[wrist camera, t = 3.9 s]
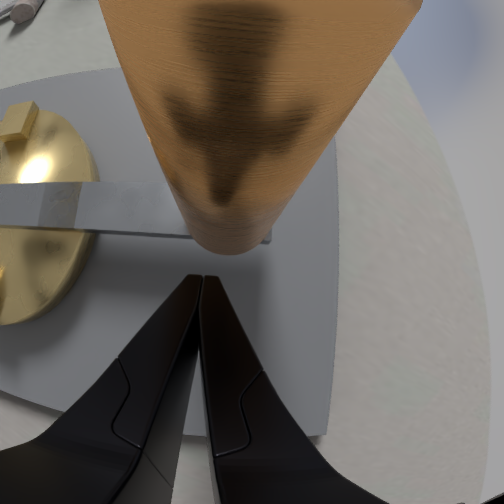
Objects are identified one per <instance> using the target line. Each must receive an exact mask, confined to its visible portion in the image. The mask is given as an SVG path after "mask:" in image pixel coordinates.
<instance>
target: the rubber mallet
mask: <svg viewBox="0 0 504 504" xmlns="http://www.w3.org/2000/svg"><path fill="white" fill-rule="evenodd" d="M43 1H44V0H15V1H13V2H11V3H9V4H7V5H5V6H3V7H2V8H0V17H1V16H2V15H4V14H6V13H8V12H10V11H11V12H10V18H11V20H12V21H13V22H14V23H16V24H20V23H22V22H24V21H26V20H29V19H31V18H33V17H34V15H35V14H36V12H37V10H38V9H39V7H40V6H41V4H42V2H43Z"/></svg>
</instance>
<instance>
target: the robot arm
mask: <svg viewBox="0 0 504 504" xmlns="http://www.w3.org/2000/svg"><path fill="white" fill-rule="evenodd" d="M198 352H199V359H200V373H201V386H202V398H203V409H204V419H205V429H206V438H207V447H208V456H209V464H210V472H211V479H212V487H213V494H214V501H215V504H389V503H387V502H385V501H383V500H382V499H380V498H378V497H376V496H375V495H373V494H371V493H369V492H368V491H366V490H364V489H363V488H361V487H359V486H358V485H356V484H354V483H353V482H351V481H350V480H348V479H346V478H345V477H343V476H342V475H341V474H339V473H338V472H337V471H336V470H335V469H334V468H333V467H332V466H331V465H330V464H329V463H328V462H327V461H326V460H325V458H324V457H323V456H322V455H321V454H320V452H319V451H318V450H317V448H316V447H315V446H314V445H313V443H312V442H311V441H310V439H309V438H308V437H307V435H306V434H305V433H304V431H303V430H302V429H301V427H300V426H299V425H298V423H297V422H296V421H295V419H294V418H293V416H292V415H291V414H290V412H289V411H288V409H287V408H286V406H285V405H284V403H283V402H282V400H281V399H280V397H279V395H278V393H277V392H276V390H275V388H274V386H273V385H272V383H271V381H270V379H269V377H268V375H267V373H266V371H264V368H263V366H262V364H261V362H260V360H259V358H258V356H257V354H256V352H255V350H254V348H253V346H252V344H251V342H250V340H249V338H248V336H247V334H246V332H245V330H244V328H243V326H242V324H241V322H240V319H239V317H238V315H237V313H236V311H235V309H234V307H233V305H232V303H231V301H230V299H229V297H228V295H227V293H226V290H225V288H224V286H223V284H222V282H221V280H220V278H219V277H218V276H215V275H204V276H202V275H200V274H187V275H186V276H185V277H184V278H183V280H182V281H181V282H180V283H179V284H178V285H177V286H176V288H175V289H174V290H173V291H172V292H171V293H170V294H169V296H168V297H167V298H166V299H165V300H164V301H163V303H162V304H161V305H160V306H159V307H158V308H157V310H156V311H155V312H154V313H153V314H152V315H151V317H150V318H149V319H148V320H147V321H146V322H145V324H144V325H143V326H142V327H141V328H140V330H139V331H138V332H137V333H136V334H135V335H134V337H133V338H132V339H131V340H130V341H129V343H128V344H127V345H126V346H125V347H124V349H123V350H122V351H121V352H120V353H119V355H118V358H115V359H114V360H113V362H112V363H111V364H110V365H109V367H108V368H107V369H106V370H105V371H104V372H103V374H102V375H101V376H100V377H99V378H98V379H97V381H96V382H95V383H94V384H93V385H92V386H91V387H90V388H89V389H88V390H87V391H86V392H85V393H84V394H83V395H82V396H81V397H80V398H79V399H78V400H77V401H76V402H75V403H74V404H73V405H72V406H71V407H70V408H69V409H68V410H67V411H66V412H64V413H63V414H62V415H61V416H60V417H59V418H58V419H57V420H56V421H55V422H54V423H53V424H52V425H51V426H50V427H49V428H48V429H47V430H46V431H45V432H43V433H42V434H41V435H39V436H38V437H36V438H34V439H33V440H31V441H29V442H26V443H24V444H21V445H17V446H14V447H11V448H8V449H5V450H1V451H0V504H171V499H172V493H173V489H172V488H173V487H174V481H175V475H176V469H177V463H178V457H179V452H180V446H181V441H182V435H183V430H184V424H185V419H186V414H187V409H188V404H189V398H190V393H191V388H192V383H193V378H194V373H195V368H196V363H197V358H198ZM458 504H465V503H458ZM482 504H504V493H502V494H500V495H497V496H495V497H493V498H491V499H489V500H487V501H485V502H483V503H482Z"/></svg>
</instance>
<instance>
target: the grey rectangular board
mask: <svg viewBox="0 0 504 504" xmlns="http://www.w3.org/2000/svg"><path fill="white" fill-rule="evenodd" d="M28 101H34V102H35V103H36V104H37V106H38V107H39V110H47V111H50V112H54V113H56V114H58V115H60V116H62V117H63V118H65V119H66V120H67V121H68V122H69V123H70V124H71V125H72V126H73V127H74V129H75V130H76V131H77V132H78V134H79V135H80V136H81V138H82V139H83V140H84V141H85V143H86V144H87V145H88V147H89V149H90V151H91V152H92V154H93V157H94V159H95V162H96V164H97V168H98V172H99V177H100V182H146V183H167V181H166V179H165V176H164V174H163V172H162V169H161V167H160V165H159V162H158V160H157V157H156V155H155V153H154V150H153V148H152V145H151V143H150V140H149V138H148V136H147V133H146V131H145V128H144V126H143V123H142V121H141V118H140V116H139V113H138V110H137V108H136V105H135V103H134V100H133V98H132V95H131V92H130V90H129V87H128V84H127V82H126V79H125V76H124V74H123V71H122V68H110V69H101V70H93V71H85V72H78V73H72V74H66V75H60V76H55V77H50V78H45V79H40V80H36V81H31V82H27V83H23V84H19V85H15V86H12V87H8V88H4V89H1V90H0V121H2V120H3V118H4V116H5V113H6V111H7V109H8V106H10V105H14V104H19V103H23V102H28ZM187 274H200V275H202V276H204V275H215V276H218V277H219V278H220V280H221V282H222V284H223V286H224V288H225V290H226V293H227V295H228V297H229V299H230V301H231V303H232V305H233V307H234V309H235V311H236V313H237V315H238V317H239V319H240V322H241V324H242V326H243V328H244V330H245V332H246V334H247V336H248V338H249V340H250V342H251V344H252V346H253V348H254V350H255V352H256V354H257V356H258V358H259V360H260V362H261V364H262V366H263V368H264V371H266V373H267V375H268V377H269V379H270V381H271V383H272V385H273V386H274V388H275V390H276V392H277V393H278V395H279V397H280V399H281V400H282V402H283V403H284V405H285V406H286V408H287V409H288V411H289V412H290V414H291V415H292V416H293V418H294V419H295V421H296V422H297V423H298V425H299V426H300V427H301V429H302V430H303V431H304V433H305V434H306V435H307V436H317V435H326V432H327V425H328V417H329V408H330V399H331V390H332V380H333V369H334V357H335V343H336V327H337V307H338V276H339V209H338V178H337V158H336V142H335V135H334V137H333V138H332V140H331V141H330V143H329V144H328V146H327V147H326V149H325V150H324V151H323V153H322V154H321V156H320V157H319V159H318V160H317V162H316V163H315V165H314V166H313V168H312V169H311V171H310V172H309V174H308V175H307V177H306V178H305V179H304V181H303V182H302V184H301V185H300V187H299V188H298V190H297V191H296V193H295V194H294V196H293V197H292V199H291V200H290V202H289V203H288V204H287V206H286V207H285V209H284V210H283V212H282V213H281V215H280V216H279V218H278V219H277V221H276V222H275V224H274V225H273V226H272V241H271V242H270V244H269V245H262V244H259V245H257V246H256V247H255V248H253V249H252V250H250V251H248V252H245V253H243V254H239V255H232V256H225V255H219V254H215V253H212V252H210V251H208V250H206V249H204V248H203V247H201V246H200V245H199V244H198V243H197V242H196V241H195V240H190V239H175V238H160V237H145V236H129V235H113V234H97V233H96V237H95V240H94V243H93V247H92V250H91V253H90V255H89V257H88V260H87V262H86V265H85V267H84V268H83V270H82V272H81V274H80V276H79V278H78V280H77V281H76V283H75V284H74V286H73V287H72V288H71V290H70V291H69V293H68V294H67V295H66V296H65V297H64V298H63V300H62V301H61V302H60V303H59V304H58V305H56V306H55V307H54V308H53V309H52V310H51V311H49V312H48V313H46V314H45V315H43V316H42V317H40V318H38V319H35V320H33V321H31V322H27V323H22V324H11V325H0V390H2V391H4V392H7V393H9V394H12V395H14V396H17V397H20V398H22V399H25V400H28V401H31V402H34V403H37V404H40V405H43V406H46V407H49V408H52V409H56V410H59V411H63V412H66V411H67V410H68V409H69V408H70V407H71V406H72V405H73V404H74V403H75V402H76V401H77V400H78V399H79V398H80V397H81V396H82V395H83V394H84V393H85V392H86V391H87V390H88V389H89V388H90V387H91V386H92V385H93V384H94V383H95V382H96V381H97V379H98V378H99V377H100V376H101V375H102V374H103V372H104V371H105V370H106V369H107V368H108V367H109V365H110V364H111V363H112V362H113V360H114V359H115V358H118V355H119V353H120V352H121V351H122V350H123V349H124V347H125V346H126V345H127V344H128V343H129V341H130V340H131V339H132V338H133V337H134V335H135V334H136V333H137V332H138V331H139V330H140V328H141V327H142V326H143V325H144V324H145V322H146V321H147V320H148V319H149V318H150V317H151V315H152V314H153V313H154V312H155V311H156V310H157V308H158V307H159V306H160V305H161V304H162V303H163V301H164V300H165V299H166V298H167V297H168V296H169V294H170V293H171V292H172V291H173V290H174V289H175V288H176V286H177V285H178V284H179V283H180V282H181V281H182V280H183V278H184V277H185V276H186V275H187ZM183 434H184V435H195V436H206V429H205V419H204V409H203V398H202V386H201V373H200V359H199V352H198V358H197V363H196V368H195V373H194V378H193V383H192V388H191V393H190V398H189V404H188V409H187V414H186V419H185V424H184V430H183Z"/></svg>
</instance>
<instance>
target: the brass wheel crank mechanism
mask: <svg viewBox="0 0 504 504" xmlns="http://www.w3.org/2000/svg"><path fill="white" fill-rule="evenodd" d="M98 1H99V4H100V7H101V10H102V14H103V17H104V20H105V23H106V26H107V29H108V31H109V34H110V37H111V40H112V43H113V46H114V49H115V52H116V54H117V57H118V60H119V63H120V65H121V68H122V71H123V74H124V76H125V79H126V82H127V84H128V87H129V90H130V92H131V95H132V98H133V100H134V103H135V105H136V108H137V110H138V113H139V116H140V118H141V121H142V123H143V126H144V128H145V131H146V133H147V136H148V138H149V140H150V143H151V145H152V148H153V150H154V153H155V155H156V157H157V160H158V162H159V165H160V167H161V169H162V172H163V174H164V176H165V179H166V181H167V183H146V182H100V177H99V172H98V168H97V164H96V162H95V159H94V157H93V154H92V152H91V151H90V149H89V147H88V145H87V144H86V143H85V141H84V140H83V139H82V138H81V136H80V135H79V134H78V132H77V131H76V130H75V129H74V127H73V126H72V125H71V124H70V123H69V122H68V121H67V120H66V119H65V118H63V117H62V116H60V115H58V114H56V113H54V112H50V111H47V110H39V107H38V106H37V104H36V103H35V102H34V101H28V102H23V103H19V104H14V105H10V106H8V109H7V111H6V113H5V116H4V118H3V120H2V121H0V325H11V324H22V323H27V322H31V321H33V320H35V319H38V318H40V317H42V316H43V315H45V314H46V313H48V312H49V311H51V310H52V309H53V308H54V307H55V306H56V305H58V304H59V303H60V302H61V301H62V300H63V298H64V297H65V296H66V295H67V294H68V293H69V291H70V290H71V288H72V287H73V286H74V284H75V283H76V281H77V280H78V278H79V276H80V274H81V272H82V270H83V268H84V267H85V265H86V262H87V260H88V257H89V255H90V253H91V250H92V247H93V243H94V240H95V237H96V233H97V234H113V235H129V236H145V237H160V238H175V239H190V240H195V241H196V242H197V243H198V244H199V245H200V246H201V247H203V248H204V249H206V250H208V251H210V252H212V253H215V254H219V255H225V256H232V255H239V254H243V253H245V252H248V251H250V250H252V249H253V248H255V247H256V246H257V245H259V244H262V245H269V244H270V242H271V241H272V226H273V225H274V224H275V222H276V221H277V219H278V218H279V216H280V215H281V213H282V212H283V210H284V209H285V207H286V206H287V204H288V203H289V202H290V200H291V199H292V197H293V196H294V194H295V193H296V191H297V190H298V188H299V187H300V185H301V184H302V182H303V181H304V179H305V178H306V177H307V175H308V174H309V172H310V171H311V169H312V168H313V166H314V165H315V163H316V162H317V160H318V159H319V157H320V156H321V154H322V153H323V151H324V150H325V149H326V147H327V146H328V144H329V143H330V141H331V140H332V138H333V137H334V135H335V134H336V132H337V131H338V129H339V128H340V126H341V125H342V123H343V122H344V121H345V119H346V118H347V116H348V115H349V113H350V112H351V110H352V109H353V107H354V106H355V104H356V103H357V101H358V100H359V98H360V97H361V95H362V94H363V92H364V91H365V89H366V88H367V87H368V85H369V84H370V82H371V81H372V79H373V78H374V76H375V75H376V73H377V72H378V70H379V69H380V67H381V66H382V64H383V63H384V61H385V60H386V58H387V57H388V55H389V54H390V52H391V51H392V49H393V48H394V47H395V45H396V44H397V42H398V40H399V39H400V38H401V36H402V35H403V33H404V32H405V30H406V29H407V27H408V26H409V24H410V23H411V21H412V20H413V18H414V17H415V15H416V14H417V12H418V11H419V9H420V8H421V5H422V2H423V0H98Z"/></svg>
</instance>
